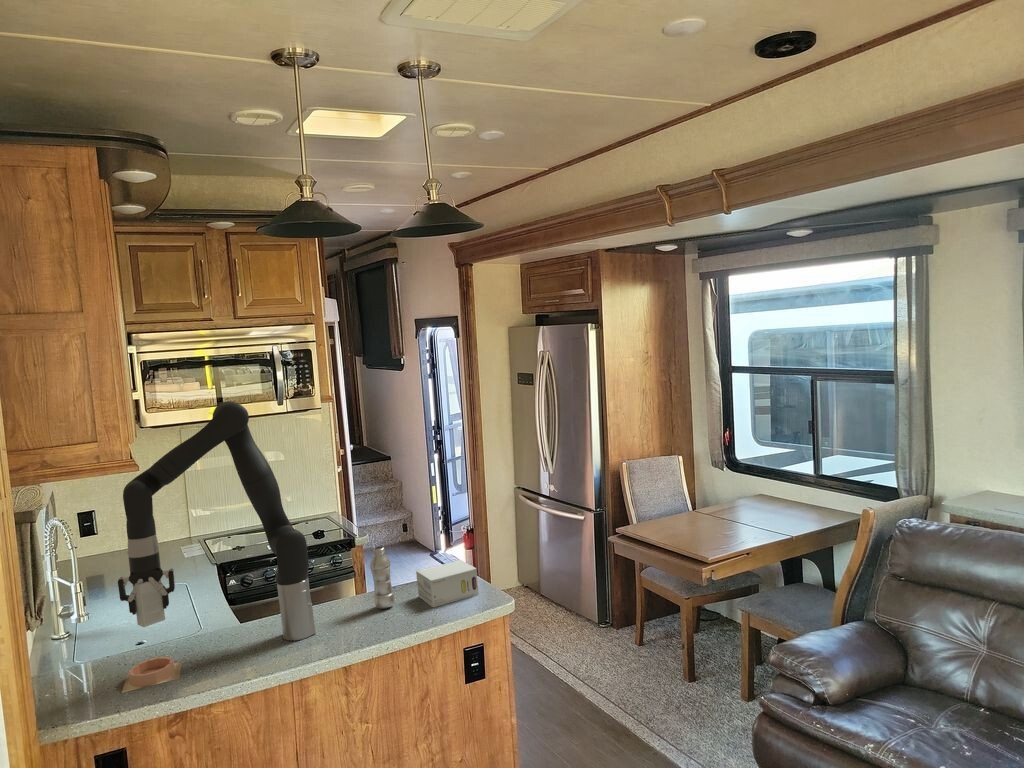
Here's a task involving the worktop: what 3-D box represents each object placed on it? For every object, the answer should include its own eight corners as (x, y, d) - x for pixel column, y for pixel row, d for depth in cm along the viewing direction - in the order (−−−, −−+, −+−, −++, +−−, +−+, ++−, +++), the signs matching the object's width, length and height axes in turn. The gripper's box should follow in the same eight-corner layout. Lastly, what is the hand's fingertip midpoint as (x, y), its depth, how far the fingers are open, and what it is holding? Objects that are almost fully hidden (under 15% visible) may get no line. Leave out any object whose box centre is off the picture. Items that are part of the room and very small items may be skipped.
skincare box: (158, 617, 201) (154, 575, 200) (165, 620, 198) (161, 578, 197) (136, 625, 196) (131, 582, 195) (143, 627, 193) (138, 584, 193)
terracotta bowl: (175, 663, 204) (174, 653, 204) (173, 679, 194) (171, 668, 194) (133, 673, 200) (131, 663, 200) (128, 690, 190) (126, 679, 190)
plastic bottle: (397, 608, 232) (390, 548, 231) (376, 612, 229) (369, 552, 228) (393, 601, 238) (386, 543, 237) (373, 606, 235) (366, 547, 234)
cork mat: (181, 662, 206) (181, 661, 206) (179, 679, 194) (179, 678, 194) (127, 675, 200) (127, 674, 200) (121, 694, 189) (121, 692, 189)
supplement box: (433, 608, 229) (430, 580, 228) (418, 597, 240) (415, 570, 240) (479, 594, 237) (476, 567, 236) (463, 584, 248) (460, 558, 248)
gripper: (173, 544, 202) (179, 601, 203) (116, 553, 197) (122, 612, 198) (171, 550, 195) (177, 609, 196) (112, 560, 190) (118, 620, 191)
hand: (149, 610), depth 197 cm, fingers closed on skincare box, 7 cm apart
